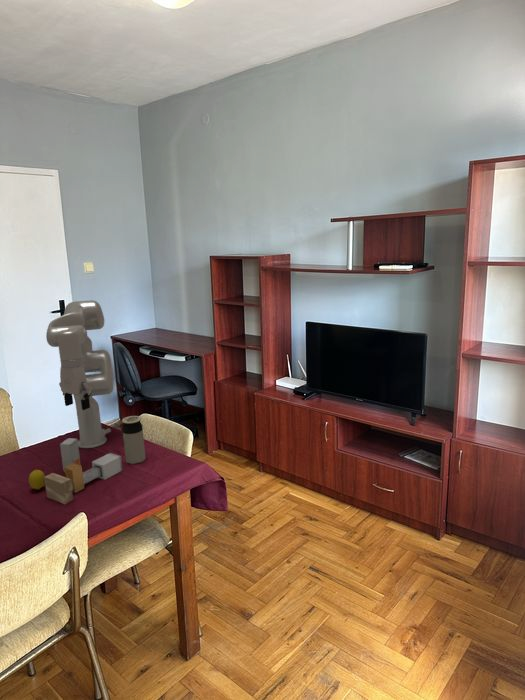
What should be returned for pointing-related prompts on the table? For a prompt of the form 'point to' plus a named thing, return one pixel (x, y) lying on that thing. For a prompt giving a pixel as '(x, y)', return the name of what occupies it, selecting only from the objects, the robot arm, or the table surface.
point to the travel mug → (133, 439)
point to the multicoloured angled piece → (81, 475)
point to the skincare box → (70, 452)
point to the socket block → (58, 488)
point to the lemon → (37, 479)
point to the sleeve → (109, 465)
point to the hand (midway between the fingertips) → (77, 406)
